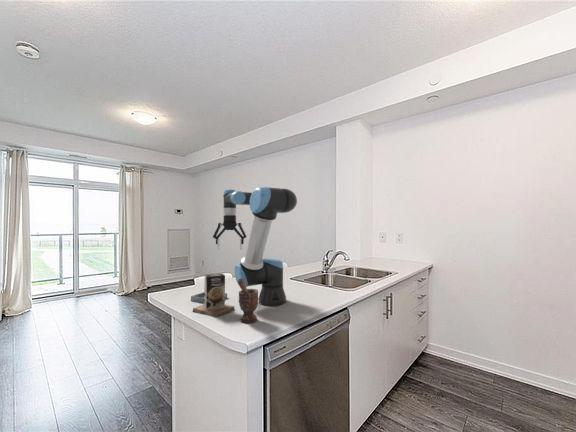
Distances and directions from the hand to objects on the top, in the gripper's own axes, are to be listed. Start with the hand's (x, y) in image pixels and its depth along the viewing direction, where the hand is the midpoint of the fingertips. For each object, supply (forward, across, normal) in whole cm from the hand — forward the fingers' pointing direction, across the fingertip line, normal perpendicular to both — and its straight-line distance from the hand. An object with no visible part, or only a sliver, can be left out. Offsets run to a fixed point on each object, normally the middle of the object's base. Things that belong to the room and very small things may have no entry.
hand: (229, 249), depth 165 cm
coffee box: (+25, +2, +31) cm, 40 cm away
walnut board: (+27, +2, +31) cm, 41 cm away
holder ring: (+27, +9, +12) cm, 31 cm away
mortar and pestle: (+27, -17, +47) cm, 56 cm away
